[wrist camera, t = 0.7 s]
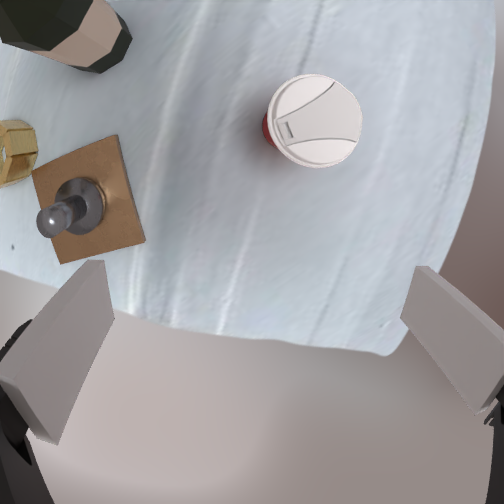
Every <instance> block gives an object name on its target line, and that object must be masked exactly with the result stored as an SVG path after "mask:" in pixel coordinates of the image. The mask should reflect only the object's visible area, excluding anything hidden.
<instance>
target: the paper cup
mask: <svg viewBox="0 0 504 504" xmlns="http://www.w3.org/2000/svg"><path fill="white" fill-rule="evenodd" d="M362 120H363V116H362V111H361V108H360V105H359V103H358V101H357V100H356V98H355V97H354V95H353V94H352V93H351V92H350V91H349V90H347V89H346V88H345V87H344V86H343V85H342V84H340V83H339V82H337V81H336V80H334V79H332V78H329V77H327V76H323V75H318V74H304V75H299V76H296V77H294V78H291V79H290V80H288V81H286V82H285V83H284V84H282V85H281V86H280V87H279V88H278V89H277V91H276V92H275V93H274V95H273V97H272V99H271V101H270V104H269V108H268V111H267V113H266V115H265V117H264V119H263V125H262V128H263V133H264V136H265V138H266V139H267V141H268V142H269V143H270V144H271V145H273V146H274V147H276V148H277V149H279V150H280V151H281V152H282V153H283V154H284V155H285V156H286V157H288V158H289V159H290V160H292V161H294V162H295V163H297V164H300V165H303V166H306V167H311V168H324V167H329V166H333V165H335V164H337V163H339V162H341V161H342V160H344V159H345V158H346V157H347V156H349V155H350V154H351V152H352V151H353V150H354V148H355V146H356V145H357V143H358V140H359V137H360V133H361V128H362Z"/></svg>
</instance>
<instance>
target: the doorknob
mask: <svg viewBox="0 0 504 504" xmlns="http://www.w3.org/2000/svg"><path fill="white" fill-rule="evenodd" d="M31 173H32V177H33V182H34V185H35V189H36V193H37V197H38V200H39V204H40V207H41V211H40V212H39V213H38V215H37V220H36V222H37V227H38V230H39V232H40V233H41V234H42V235H43V236H44V237H46V238H51V241H52V244H53V246H54V249H55V252H56V254H57V257H58V260H59V262H60V265H61V264H64V263H68V262H71V261H75V260H79V259H83V258H86V257H90V256H94V255H98V254H102V253H105V252H109V251H113V250H117V249H121V248H125V247H129V246H133V245H137V244H141V243H144V242H145V241H146V239H145V236H144V233H143V230H142V226H141V223H140V220H139V217H138V213H137V210H136V206H135V203H134V199H133V196H132V192H131V188H130V184H129V181H128V177H127V173H126V169H125V165H124V161H123V157H122V152H121V148H120V144H119V139H118V135H113V136H110V137H107V138H105V139H102V140H99V141H97V142H94V143H92V144H89V145H87V146H84V147H82V148H80V149H77V150H75V151H73V152H70V153H68V154H66V155H64V156H61V157H59V158H57V159H55V160H53V161H51V162H49V163H47V164H45V165H43V166H41V167H39V168H37V169H35V170H33V171H31Z"/></svg>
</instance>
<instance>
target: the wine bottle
mask: <svg viewBox="0 0 504 504" xmlns="http://www.w3.org/2000/svg"><path fill="white" fill-rule="evenodd" d="M0 37H1V40H2V43H5V44H8V45H12V46H15V47H18V48H21V49H24V50H28V51H31V52H34V53H36V54H39V55H42V56H45V57H48V58H51V59H53V60H56V61H59V62H61V63H64V64H67V65H69V66H72V67H74V68H77V69H79V70H82V71H88V72H95V73H100V74H101V73H103V72H104V71H106V70H107V69H109V68H111V67H112V66H114V65H115V64H117V63H119V62H120V61H122V60H123V58H124V56H125V53H126V51H127V49H128V47H129V45H130V43H131V41H132V39H133V38H132V36H131V34H130V32H129V30H128V27H127V25H126V23H125V21H124V20H123V19H122V18H121V17H120V16H119V15H118V14H117V13H116V12H115V11H114V10H113V9H112V8H111V6H110V5H109V4H108V3H107V2H106V1H105V0H0Z"/></svg>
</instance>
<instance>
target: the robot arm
mask: <svg viewBox="0 0 504 504" xmlns="http://www.w3.org/2000/svg"><path fill="white" fill-rule="evenodd" d="M400 318H401V320H402V321H403V322H404V323H405V324H406V326H407V327H408V328H409V329H410V331H411V332H412V333H413V334H414V335H415V336H416V338H417V339H418V340H419V342H420V343H421V344H422V345H423V347H424V348H425V349H426V350H427V352H428V353H429V354H430V356H431V357H432V358H433V359H434V361H435V362H436V363H437V365H438V366H439V367H440V368H441V370H442V371H443V372H444V374H445V375H446V376H447V378H448V379H449V380H450V382H451V383H452V384H453V386H454V387H455V389H456V390H457V391H458V393H459V394H460V395H461V397H462V398H463V400H464V401H465V403H466V404H467V405H468V407H469V408H470V410H471V411H472V412H473V414H474V415H477V414H479V413H481V412H483V411H484V410H486V409H487V408H488V407H489V406H490V404H491V403H492V402H493V400H494V399H495V397H496V398H497V400H498V401H499V402H498V403H497V405H496V406H495V407H494V409H493V410H492V411H491V413H490V414H489V415H488V416H487V418H486V419H485V421H484V424H486V423H487V422H488V421H489V420H490V419H491V418H493V420H492V421H491V422H490V423H489V425H490V426H494V438H493V454H492V464H491V473H490V481H489V487H488V493H487V498H486V503H485V504H504V330H503V329H502V328H501V327H500V326H499V325H497V324H496V323H495V322H494V321H493V320H492V319H491V318H490V317H489V316H487V315H486V314H485V313H484V312H483V311H482V310H481V309H479V308H478V307H477V306H476V305H475V304H474V303H473V302H472V301H470V300H469V299H468V298H467V297H466V296H465V295H463V294H462V293H461V292H460V291H459V290H457V289H456V288H455V287H454V286H452V285H451V284H450V283H449V282H447V281H446V280H445V279H444V278H442V277H441V276H440V275H439V274H437V273H436V272H435V271H434V270H432V269H431V268H430V267H428V266H416V267H415V271H414V274H413V278H412V281H411V285H410V288H409V291H408V295H407V298H406V301H405V304H404V307H403V310H402V313H401V316H400ZM114 319H115V318H114V313H113V308H112V303H111V298H110V293H109V287H108V281H107V275H106V269H105V262H104V260H87V261H86V262H85V263H84V264H83V265H82V266H81V267H80V268H79V269H78V270H77V271H76V272H75V273H74V274H73V275H72V276H71V278H70V279H69V280H68V281H67V282H66V283H65V284H64V285H63V286H62V287H61V288H60V289H59V291H58V292H57V293H56V294H55V295H54V296H53V297H52V298H51V300H50V301H49V302H48V303H47V304H46V305H45V307H44V308H43V309H42V310H41V311H40V312H39V314H38V315H37V316H36V317H35V318H34V319H33V320H32V319H30V320H29V321H27V322H26V323H24V324H23V325H21V326H20V327H19V328H18V329H17V330H16V331H15V332H14V334H13V335H12V336H11V339H9V340H8V341H7V343H6V344H5V347H2V349H1V350H0V504H54V502H53V499H52V497H51V495H50V493H49V491H48V489H47V486H46V484H45V482H44V479H43V477H42V475H41V472H40V470H39V467H38V464H37V462H36V459H35V456H34V453H33V450H32V447H31V445H30V442H29V440H28V438H27V436H26V435H25V434H26V432H27V430H28V428H30V430H31V431H32V432H33V433H34V435H35V436H36V437H37V438H38V439H40V440H43V441H46V442H48V443H52V444H55V445H58V443H59V440H60V438H61V435H62V433H63V430H64V428H65V425H66V423H67V420H68V418H69V415H70V413H71V410H72V408H73V406H74V403H75V401H76V399H77V396H78V394H79V392H80V389H81V387H82V385H83V383H84V381H85V378H86V376H87V374H88V372H89V370H90V368H91V365H92V363H93V361H94V359H95V357H96V355H97V353H98V351H99V349H100V347H101V345H102V343H103V341H104V338H105V337H106V335H107V333H108V331H109V329H110V327H111V325H112V323H113V321H114Z"/></svg>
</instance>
